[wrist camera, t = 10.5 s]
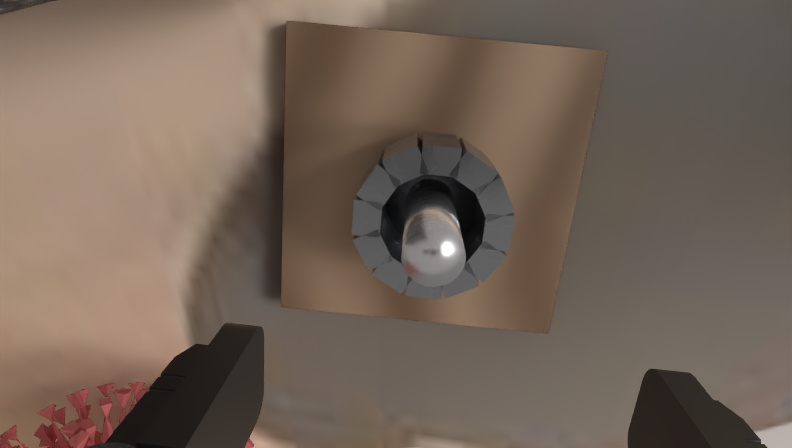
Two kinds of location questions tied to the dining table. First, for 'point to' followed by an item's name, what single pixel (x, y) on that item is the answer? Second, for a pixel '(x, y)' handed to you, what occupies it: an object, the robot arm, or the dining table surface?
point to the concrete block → (18, 4)
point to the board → (415, 112)
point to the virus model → (81, 421)
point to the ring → (438, 158)
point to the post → (432, 226)
